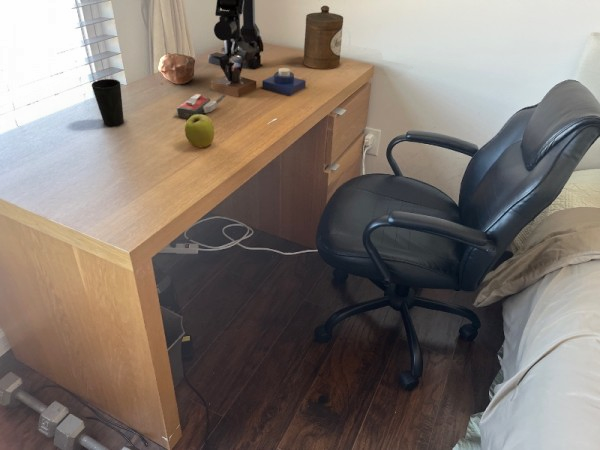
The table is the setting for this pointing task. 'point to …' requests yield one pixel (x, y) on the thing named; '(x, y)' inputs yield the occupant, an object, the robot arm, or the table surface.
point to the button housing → (284, 84)
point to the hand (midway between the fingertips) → (233, 79)
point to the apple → (199, 130)
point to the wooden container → (323, 39)
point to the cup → (109, 101)
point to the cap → (284, 72)
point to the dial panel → (234, 86)
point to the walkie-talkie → (197, 106)
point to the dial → (235, 75)
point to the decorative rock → (177, 67)
